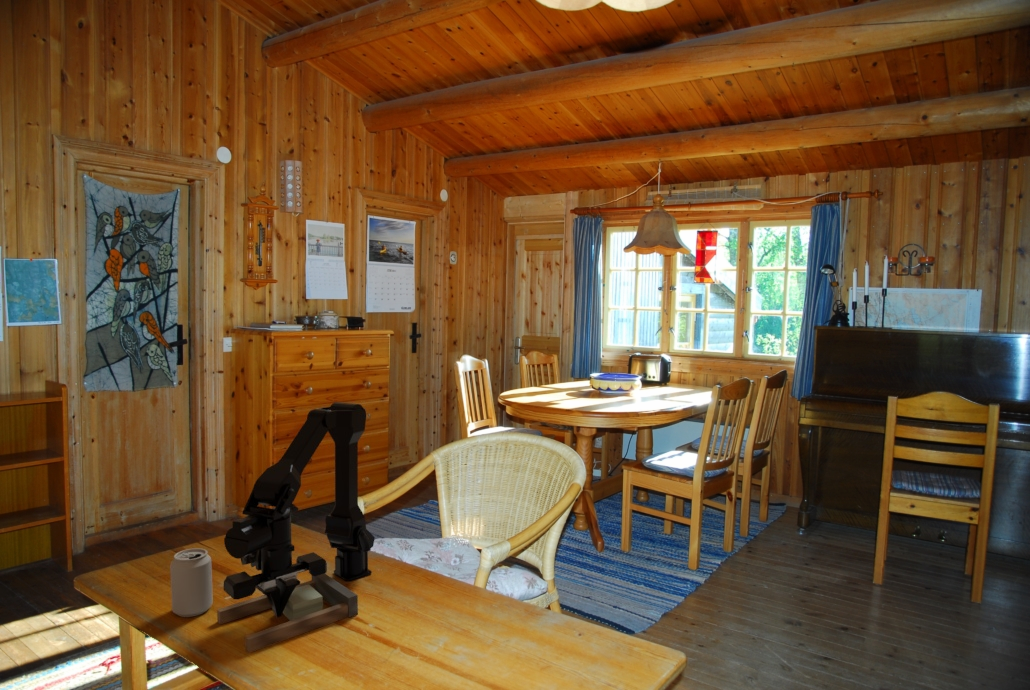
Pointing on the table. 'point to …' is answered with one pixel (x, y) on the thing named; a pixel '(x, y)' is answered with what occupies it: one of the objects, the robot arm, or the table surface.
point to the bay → (331, 591)
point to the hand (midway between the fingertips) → (278, 616)
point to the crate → (303, 602)
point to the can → (191, 582)
